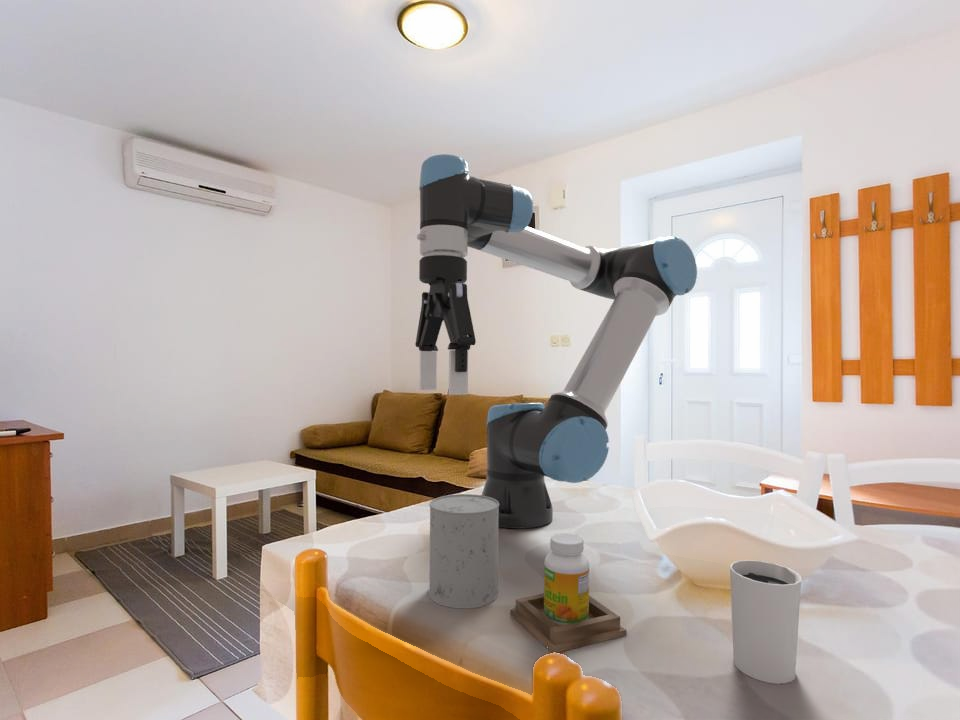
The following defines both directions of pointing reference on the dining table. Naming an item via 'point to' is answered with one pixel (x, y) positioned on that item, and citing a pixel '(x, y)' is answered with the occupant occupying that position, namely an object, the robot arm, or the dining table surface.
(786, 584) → the white cup
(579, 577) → the supplement bottle
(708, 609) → the dining table surface
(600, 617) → the walnut holder
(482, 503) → the gray concrete cylinder
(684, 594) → the dining table surface
